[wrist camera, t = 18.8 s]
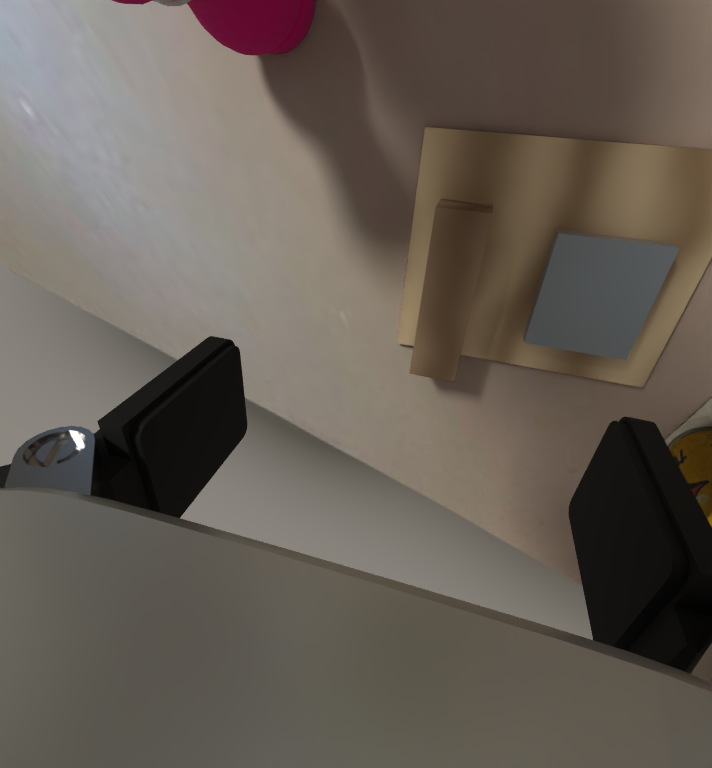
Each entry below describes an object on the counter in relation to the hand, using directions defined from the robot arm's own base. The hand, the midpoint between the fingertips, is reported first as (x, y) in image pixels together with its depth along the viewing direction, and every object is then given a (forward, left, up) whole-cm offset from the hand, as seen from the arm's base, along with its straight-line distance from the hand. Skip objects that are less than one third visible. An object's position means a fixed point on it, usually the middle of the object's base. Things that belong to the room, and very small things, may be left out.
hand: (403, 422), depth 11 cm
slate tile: (+11, 0, -27) cm, 29 cm away
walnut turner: (0, -6, -28) cm, 28 cm away
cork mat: (+7, -3, -28) cm, 29 cm away
